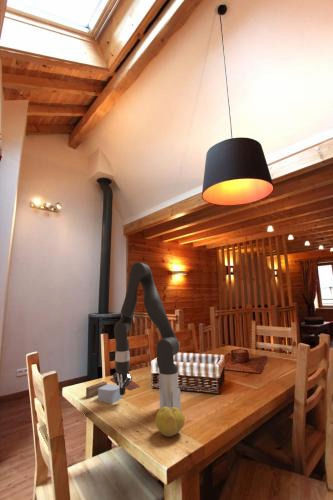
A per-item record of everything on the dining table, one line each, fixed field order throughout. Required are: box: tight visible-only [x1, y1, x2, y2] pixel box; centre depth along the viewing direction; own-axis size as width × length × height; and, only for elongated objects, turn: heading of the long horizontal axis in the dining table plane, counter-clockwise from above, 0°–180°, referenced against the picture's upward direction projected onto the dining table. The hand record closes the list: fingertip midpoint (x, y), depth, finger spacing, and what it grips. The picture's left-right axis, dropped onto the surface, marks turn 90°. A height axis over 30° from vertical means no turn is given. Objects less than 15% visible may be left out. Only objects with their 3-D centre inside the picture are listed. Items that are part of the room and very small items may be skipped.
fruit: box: [154, 406, 185, 438], centre depth 103 cm, size 11×12×10 cm
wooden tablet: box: [110, 377, 141, 391], centre depth 162 cm, size 27×10×2 cm, turn 36°
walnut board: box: [85, 381, 108, 400], centre depth 145 cm, size 3×12×5 cm, turn 143°
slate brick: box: [97, 383, 123, 405], centre depth 138 cm, size 10×8×6 cm
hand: (122, 394), depth 133 cm, fingers closed
